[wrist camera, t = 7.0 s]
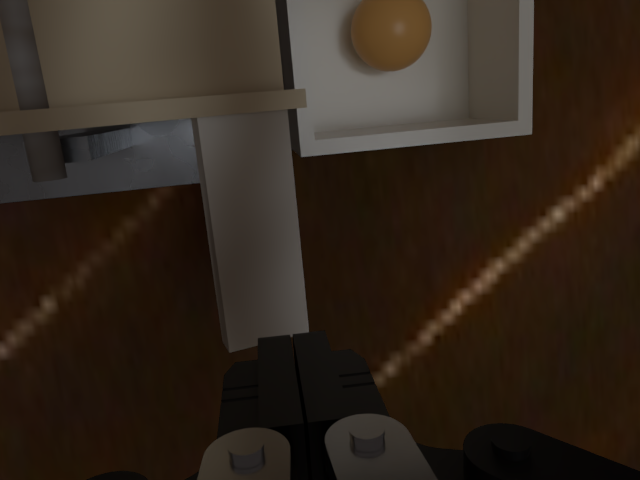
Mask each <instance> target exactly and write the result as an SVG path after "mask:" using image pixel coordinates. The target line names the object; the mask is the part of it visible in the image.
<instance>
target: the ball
mask: <svg viewBox="0 0 640 480" xmlns="http://www.w3.org/2000/svg"><path fill="white" fill-rule="evenodd" d="M431 31H432V22H431V16H430V12H429V10H428V8H427V6H426V4H425V2H424V1H423V0H362V1H361V2H360V4H359V5H358V7H357V9H356V10H355V13H354V15H353V19H352V24H351V38H352V42H353V46H354V48H355V50H356V52H357V54H358V55H359V57H360V58H361V59H362V60H363V61H364V62H365V63H366V64H368V65H369V66H371V67H373V68H375V69H377V70H381V71H398V70H401V69H405V68H407V67H409V66H410V65H412V64H413V63H415V62H416V61H417V60H418V59H419V58H420V57H421V55H422V54H423V53H424V51H425V50H426V48H427V46H428V44H429V41H430V37H431Z"/></svg>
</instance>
